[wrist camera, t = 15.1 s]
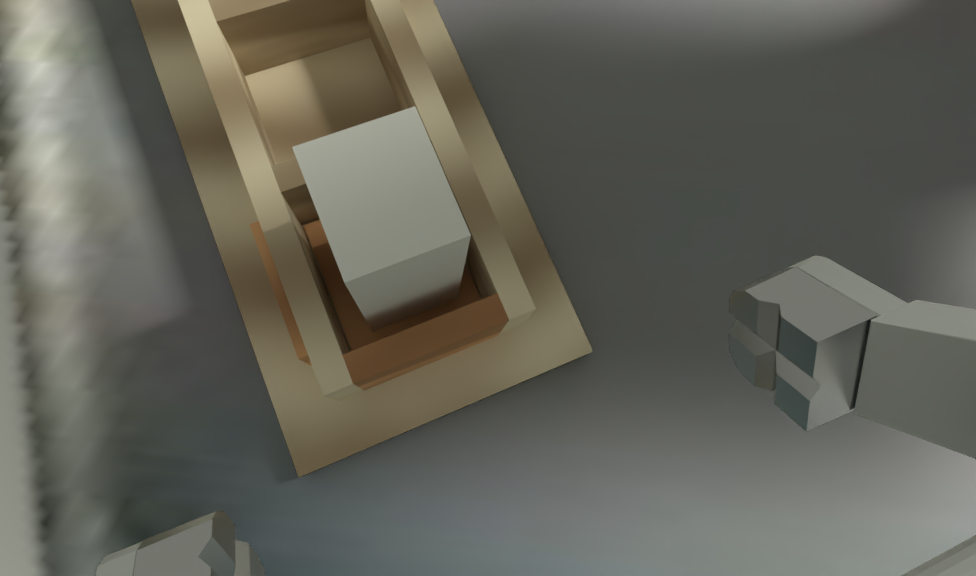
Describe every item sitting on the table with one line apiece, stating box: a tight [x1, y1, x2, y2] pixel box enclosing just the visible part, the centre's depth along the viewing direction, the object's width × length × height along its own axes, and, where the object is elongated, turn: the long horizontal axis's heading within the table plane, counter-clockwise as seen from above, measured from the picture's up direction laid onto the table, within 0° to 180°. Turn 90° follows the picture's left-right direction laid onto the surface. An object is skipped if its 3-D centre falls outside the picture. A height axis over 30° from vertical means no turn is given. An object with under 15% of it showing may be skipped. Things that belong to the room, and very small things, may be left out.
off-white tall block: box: [292, 106, 471, 332], centre depth 20 cm, size 4×4×8 cm
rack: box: [131, 0, 593, 477], centre depth 24 cm, size 26×12×4 cm, turn 23°
